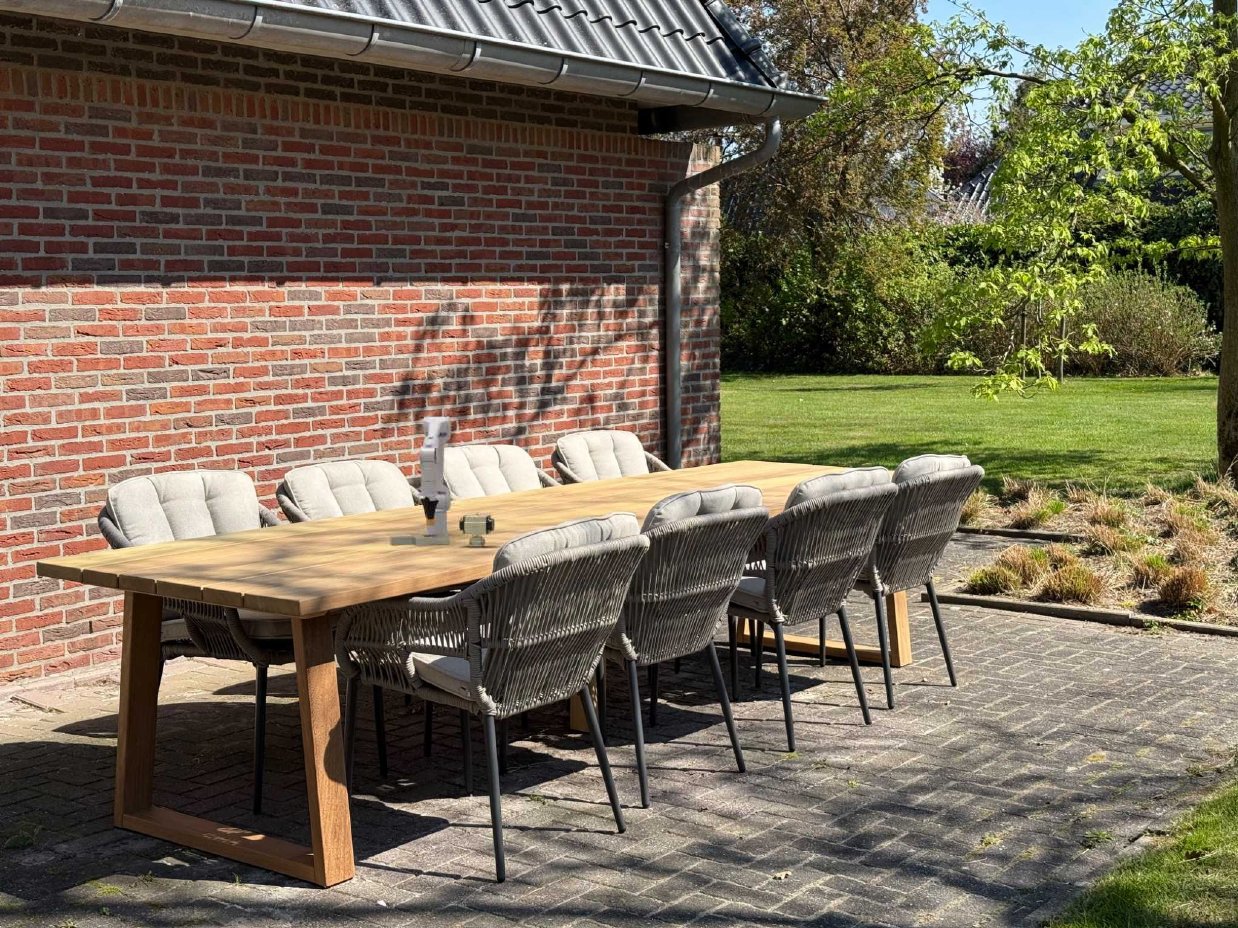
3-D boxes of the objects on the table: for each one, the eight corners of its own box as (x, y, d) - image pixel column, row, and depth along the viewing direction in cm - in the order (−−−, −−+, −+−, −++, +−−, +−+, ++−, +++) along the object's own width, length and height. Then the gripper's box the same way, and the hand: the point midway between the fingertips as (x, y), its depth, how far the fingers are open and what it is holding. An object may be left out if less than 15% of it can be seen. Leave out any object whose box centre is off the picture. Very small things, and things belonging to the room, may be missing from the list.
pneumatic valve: (462, 545, 526) (462, 511, 525) (495, 545, 525) (494, 512, 523) (458, 547, 521) (458, 513, 520) (491, 548, 519) (491, 513, 518)
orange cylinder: (425, 524, 533) (425, 505, 533) (433, 524, 534) (433, 504, 534) (427, 525, 530) (427, 506, 530) (435, 525, 532) (435, 505, 531)
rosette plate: (388, 542, 534) (388, 535, 534) (443, 539, 540) (443, 532, 540) (393, 546, 523) (393, 539, 523) (449, 544, 529) (449, 537, 529)
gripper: (414, 479, 537) (415, 516, 538) (421, 483, 523) (421, 521, 524) (434, 478, 539) (434, 515, 540) (441, 482, 525) (441, 520, 526)
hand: (429, 518), depth 532 cm, fingers closed on orange cylinder, 3 cm apart
